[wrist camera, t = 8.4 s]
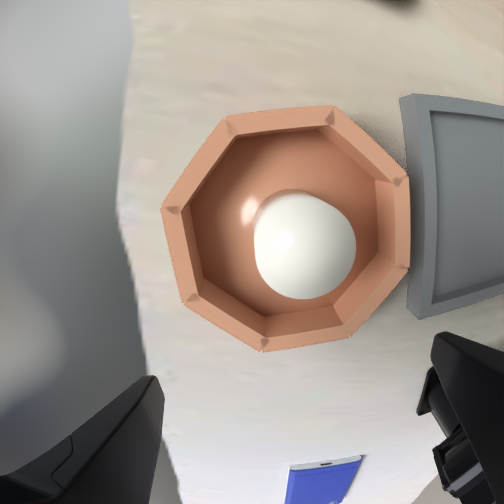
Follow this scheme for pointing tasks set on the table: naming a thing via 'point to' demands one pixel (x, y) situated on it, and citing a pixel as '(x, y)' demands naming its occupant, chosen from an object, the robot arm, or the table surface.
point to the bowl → (245, 206)
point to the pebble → (302, 244)
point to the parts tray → (454, 201)
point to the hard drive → (320, 481)
